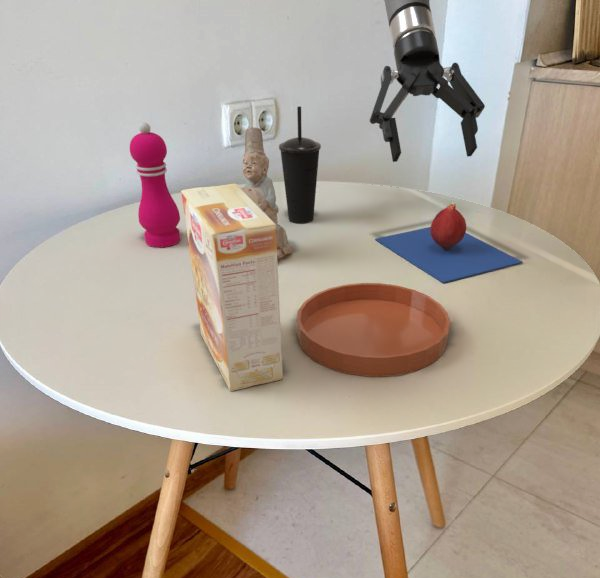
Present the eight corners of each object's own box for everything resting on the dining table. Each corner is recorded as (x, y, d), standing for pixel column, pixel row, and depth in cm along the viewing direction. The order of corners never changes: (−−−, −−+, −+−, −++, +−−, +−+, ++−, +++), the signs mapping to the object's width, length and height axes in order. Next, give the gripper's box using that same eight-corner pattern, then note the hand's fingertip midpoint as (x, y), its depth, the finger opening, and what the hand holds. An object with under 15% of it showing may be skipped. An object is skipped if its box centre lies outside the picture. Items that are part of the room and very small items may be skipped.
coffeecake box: (199, 333, 81) (178, 189, 69) (248, 323, 83) (237, 181, 71) (228, 393, 70) (210, 233, 58) (285, 380, 72) (278, 222, 60)
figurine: (258, 242, 106) (251, 122, 94) (300, 250, 103) (297, 127, 91) (231, 260, 100) (219, 134, 88) (274, 270, 97) (268, 140, 85)
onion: (425, 253, 100) (430, 206, 96) (431, 241, 105) (437, 195, 100) (459, 258, 99) (467, 210, 94) (465, 245, 103) (472, 199, 98)
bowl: (478, 351, 76) (482, 332, 74) (343, 393, 69) (344, 373, 68) (392, 289, 91) (394, 272, 89) (273, 319, 84) (273, 301, 82)
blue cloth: (522, 263, 97) (522, 261, 97) (443, 283, 92) (443, 281, 92) (447, 224, 112) (447, 223, 112) (375, 240, 106) (375, 238, 106)
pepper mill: (157, 231, 111) (138, 116, 99) (190, 236, 109) (175, 119, 97) (135, 245, 106) (111, 125, 94) (169, 251, 104) (149, 129, 92)
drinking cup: (302, 209, 120) (300, 100, 108) (328, 219, 115) (330, 106, 103) (273, 219, 116) (268, 107, 104) (299, 229, 111) (297, 113, 99)
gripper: (472, 56, 110) (493, 161, 107) (342, 63, 107) (360, 171, 104) (489, 25, 103) (512, 137, 100) (350, 31, 100) (369, 146, 97)
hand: (434, 154), depth 102 cm, fingers open, 13 cm apart
